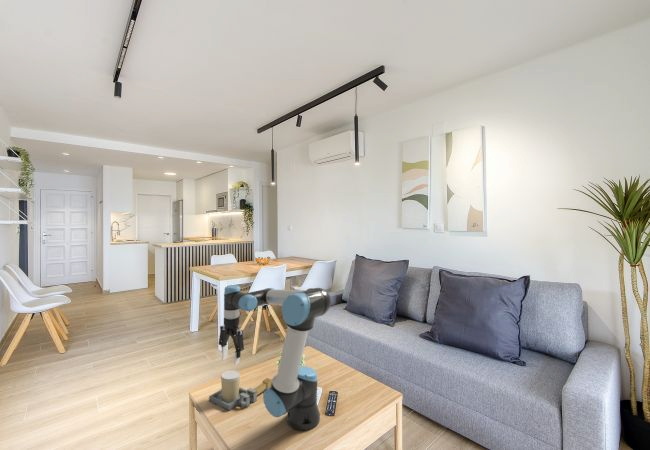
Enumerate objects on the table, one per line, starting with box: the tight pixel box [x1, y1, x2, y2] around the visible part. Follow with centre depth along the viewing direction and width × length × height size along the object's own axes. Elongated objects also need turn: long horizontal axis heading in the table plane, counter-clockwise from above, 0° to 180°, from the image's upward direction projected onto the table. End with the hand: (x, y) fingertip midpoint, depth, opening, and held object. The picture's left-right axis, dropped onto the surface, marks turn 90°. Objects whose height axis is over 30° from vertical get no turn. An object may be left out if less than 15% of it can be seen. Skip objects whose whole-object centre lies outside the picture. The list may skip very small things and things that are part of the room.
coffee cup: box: [220, 369, 241, 402], centre depth 154 cm, size 9×9×12 cm
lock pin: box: [249, 377, 272, 398], centre depth 160 cm, size 15×4×4 cm, turn 150°
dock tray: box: [208, 386, 258, 411], centre depth 153 cm, size 19×14×5 cm
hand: (230, 361), depth 154 cm, fingers open, 8 cm apart
